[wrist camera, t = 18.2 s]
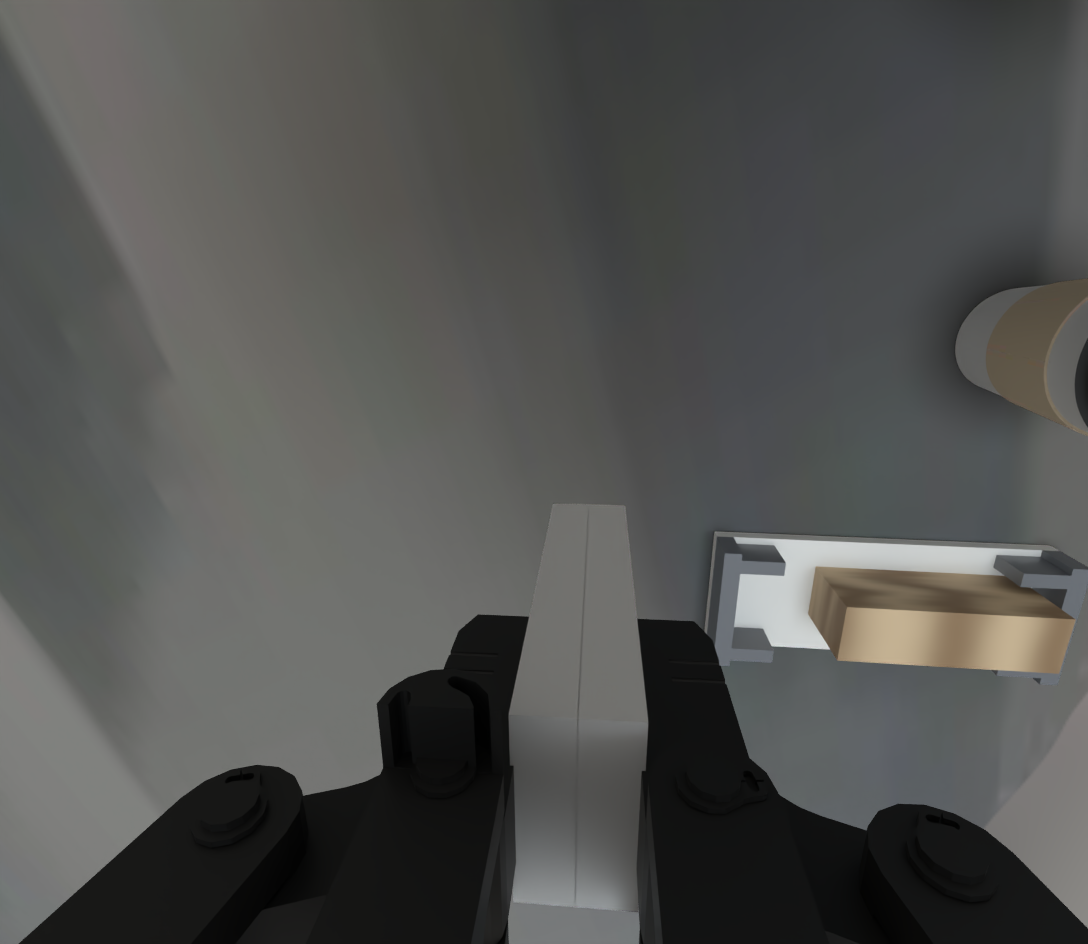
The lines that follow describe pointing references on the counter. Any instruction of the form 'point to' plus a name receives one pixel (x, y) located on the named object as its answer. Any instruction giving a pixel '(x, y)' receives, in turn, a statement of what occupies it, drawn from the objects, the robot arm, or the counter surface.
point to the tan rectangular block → (938, 620)
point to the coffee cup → (1032, 349)
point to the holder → (790, 560)
